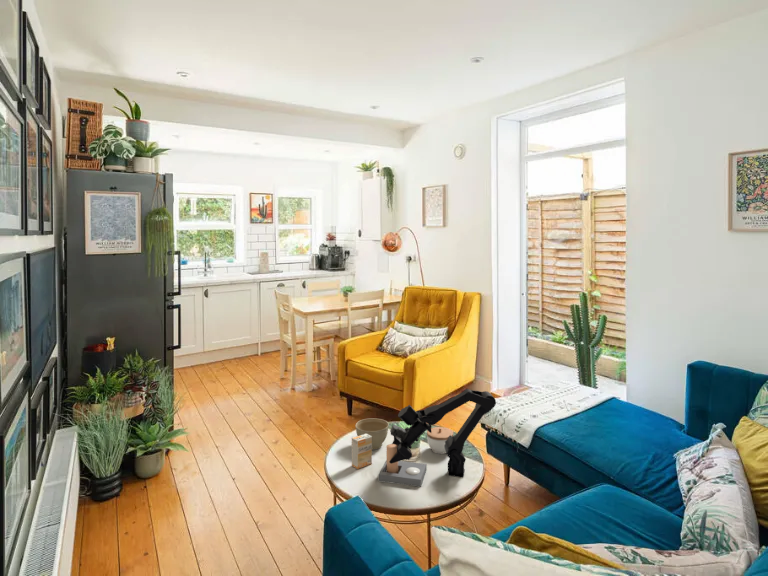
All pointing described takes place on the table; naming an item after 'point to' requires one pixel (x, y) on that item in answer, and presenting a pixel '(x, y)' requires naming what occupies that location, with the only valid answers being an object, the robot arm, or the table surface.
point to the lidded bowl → (438, 439)
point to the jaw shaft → (390, 453)
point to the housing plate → (404, 473)
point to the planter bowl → (373, 430)
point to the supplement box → (361, 451)
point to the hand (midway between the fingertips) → (389, 457)
